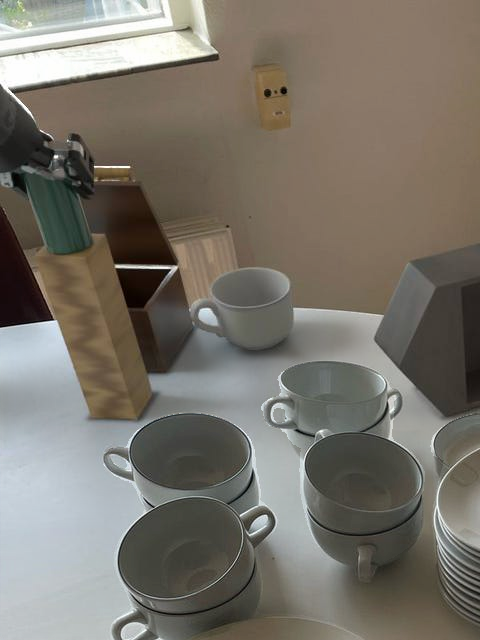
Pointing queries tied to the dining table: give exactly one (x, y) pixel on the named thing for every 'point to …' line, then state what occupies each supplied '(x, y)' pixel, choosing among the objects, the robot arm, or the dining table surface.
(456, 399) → the planter
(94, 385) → the stand
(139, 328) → the chest
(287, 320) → the teacup
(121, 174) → the lid
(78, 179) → the robot arm
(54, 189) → the green cylinder
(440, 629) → the dining table surface
